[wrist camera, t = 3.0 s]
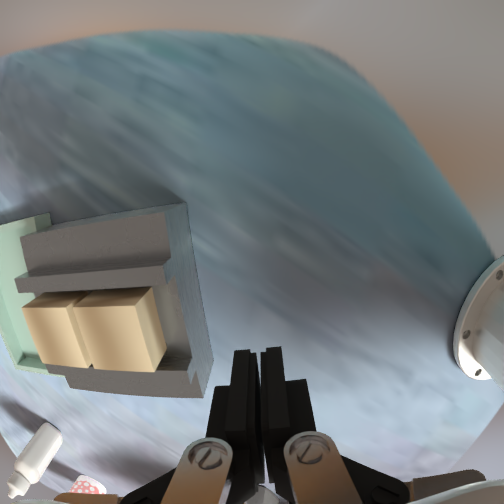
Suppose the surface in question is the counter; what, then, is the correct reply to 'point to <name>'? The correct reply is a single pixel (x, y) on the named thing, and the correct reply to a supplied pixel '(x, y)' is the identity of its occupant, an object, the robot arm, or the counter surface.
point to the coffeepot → (263, 497)
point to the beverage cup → (87, 486)
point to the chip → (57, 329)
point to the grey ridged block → (125, 277)
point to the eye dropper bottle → (34, 459)
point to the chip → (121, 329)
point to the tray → (18, 294)
